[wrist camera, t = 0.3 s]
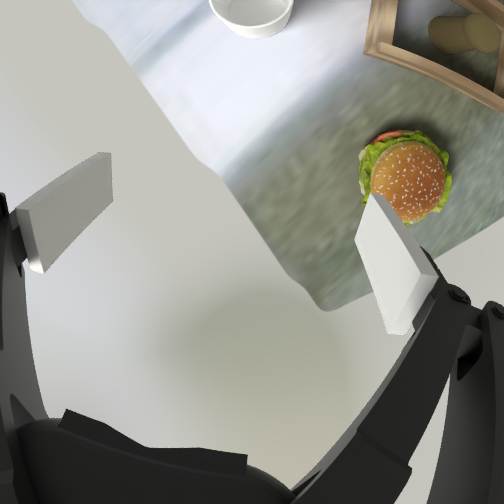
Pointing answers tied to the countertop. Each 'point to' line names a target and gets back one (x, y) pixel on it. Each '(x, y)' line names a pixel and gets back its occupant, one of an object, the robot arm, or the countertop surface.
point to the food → (406, 173)
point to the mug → (253, 16)
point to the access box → (382, 49)
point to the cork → (464, 34)
